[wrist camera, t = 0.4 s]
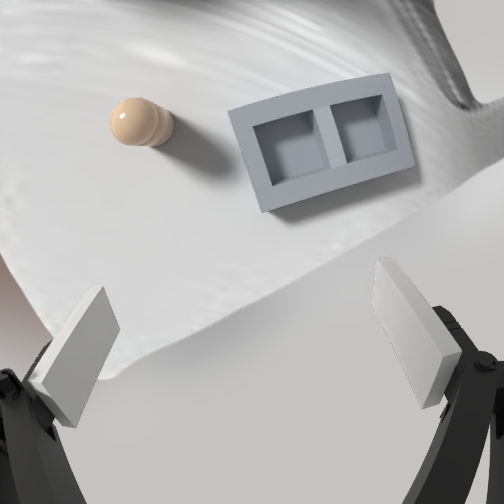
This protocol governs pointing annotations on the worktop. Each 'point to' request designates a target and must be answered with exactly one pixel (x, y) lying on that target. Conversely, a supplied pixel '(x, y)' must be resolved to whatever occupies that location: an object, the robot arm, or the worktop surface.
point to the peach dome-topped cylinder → (141, 123)
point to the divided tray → (322, 139)
